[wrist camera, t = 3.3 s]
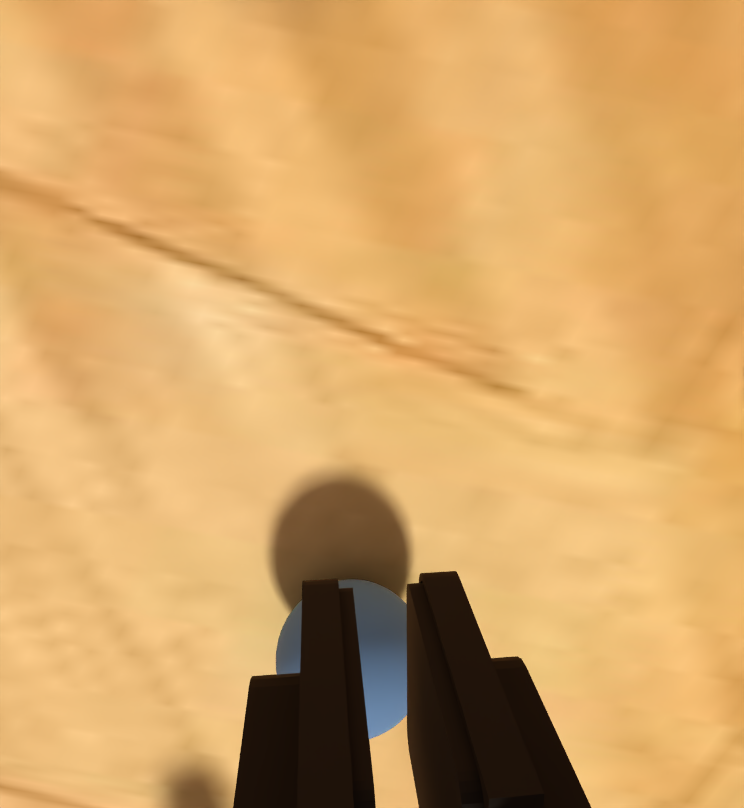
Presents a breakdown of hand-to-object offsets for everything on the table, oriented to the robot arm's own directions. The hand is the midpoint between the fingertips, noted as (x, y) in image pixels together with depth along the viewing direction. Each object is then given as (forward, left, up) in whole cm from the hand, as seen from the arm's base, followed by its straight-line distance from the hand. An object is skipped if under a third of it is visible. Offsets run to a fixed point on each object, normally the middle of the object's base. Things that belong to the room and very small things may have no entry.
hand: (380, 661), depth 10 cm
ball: (+10, 0, -12) cm, 16 cm away
